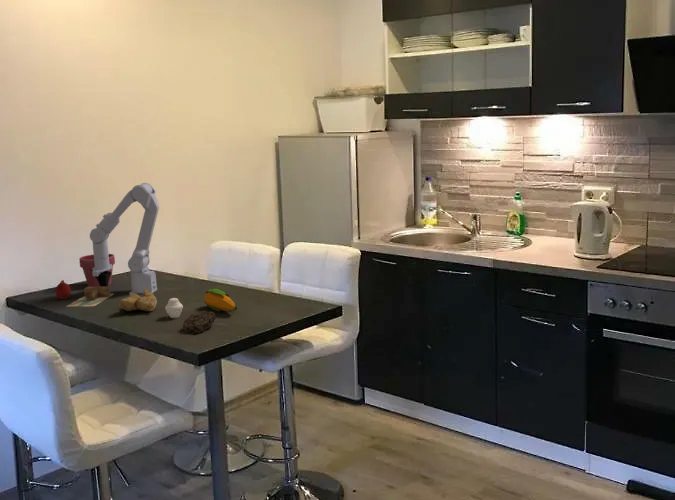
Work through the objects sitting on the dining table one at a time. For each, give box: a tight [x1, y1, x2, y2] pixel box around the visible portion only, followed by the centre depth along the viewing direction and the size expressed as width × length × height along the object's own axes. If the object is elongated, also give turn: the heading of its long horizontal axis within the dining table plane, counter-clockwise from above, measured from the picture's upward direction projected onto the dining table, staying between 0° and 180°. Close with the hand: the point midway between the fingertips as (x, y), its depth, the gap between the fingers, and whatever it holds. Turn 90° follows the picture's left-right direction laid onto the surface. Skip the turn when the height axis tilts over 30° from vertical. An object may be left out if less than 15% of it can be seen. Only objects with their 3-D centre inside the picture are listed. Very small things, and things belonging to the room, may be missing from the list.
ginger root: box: [118, 289, 158, 312], centre depth 269 cm, size 16×16×8 cm
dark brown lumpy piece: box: [182, 310, 217, 334], centre depth 244 cm, size 12×10×5 cm
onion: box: [54, 280, 72, 300], centre depth 288 cm, size 6×6×8 cm
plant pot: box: [79, 253, 116, 287], centre depth 310 cm, size 14×14×13 cm
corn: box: [203, 288, 238, 313], centre depth 265 cm, size 7×8×20 cm
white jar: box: [164, 297, 184, 319], centre depth 258 cm, size 6×6×7 cm
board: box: [67, 293, 114, 307], centre depth 285 cm, size 11×19×1 cm, turn 174°
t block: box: [83, 286, 111, 301], centre depth 288 cm, size 9×8×4 cm
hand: (104, 289), depth 297 cm, fingers closed
